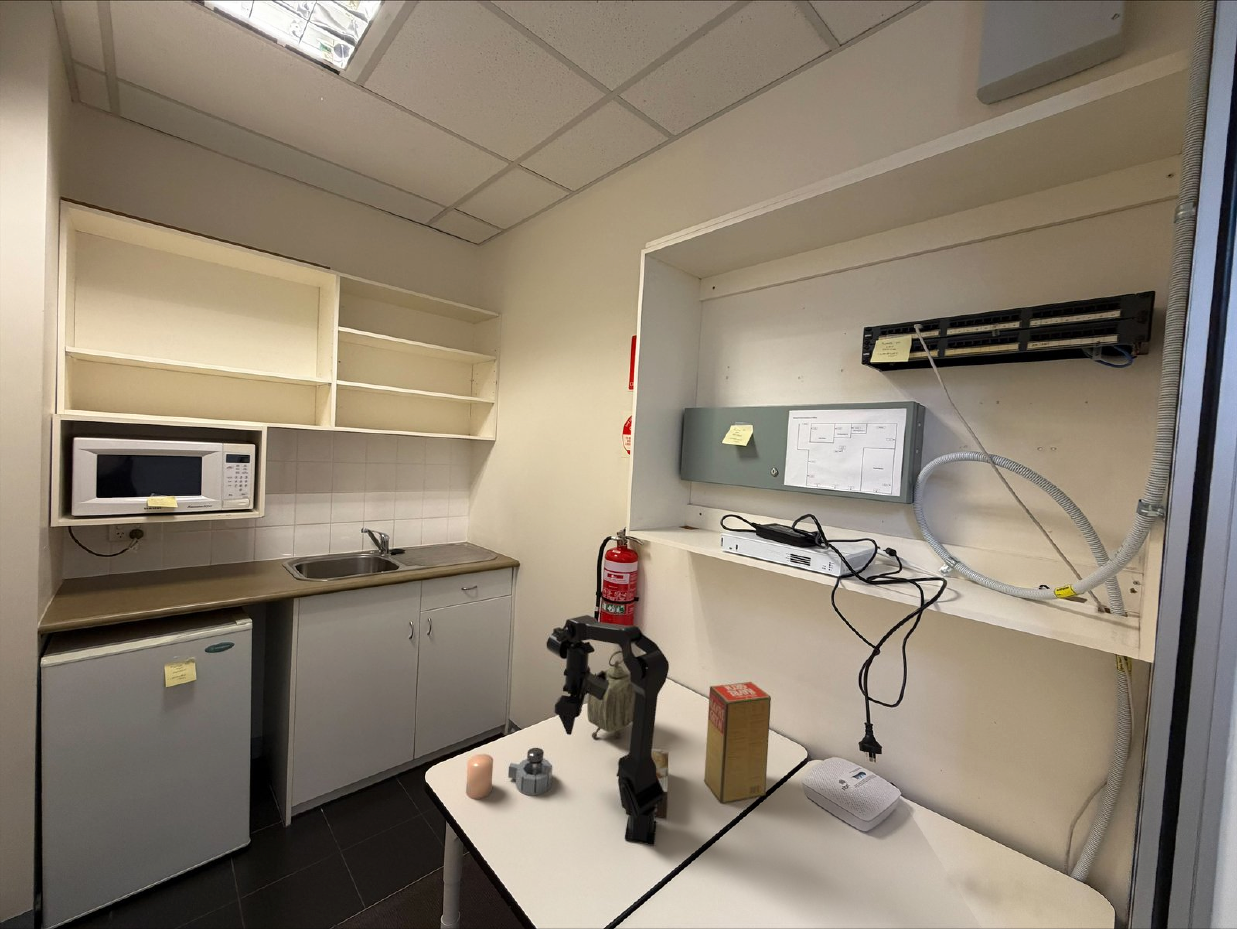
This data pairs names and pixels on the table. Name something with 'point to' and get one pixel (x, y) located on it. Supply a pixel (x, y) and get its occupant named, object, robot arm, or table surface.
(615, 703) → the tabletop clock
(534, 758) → the plunger
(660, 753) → the coffee box
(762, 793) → the food packaging
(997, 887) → the table surface
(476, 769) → the peach rounded cylinder
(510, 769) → the grey octagonal base
